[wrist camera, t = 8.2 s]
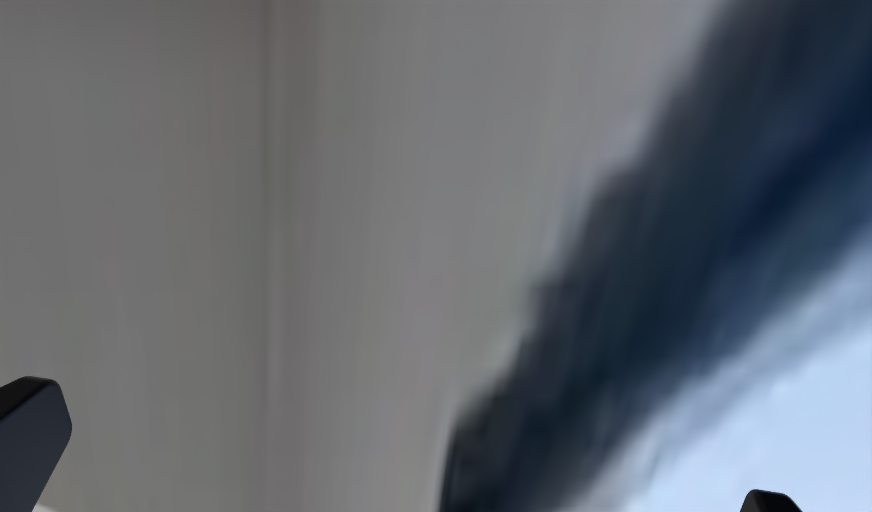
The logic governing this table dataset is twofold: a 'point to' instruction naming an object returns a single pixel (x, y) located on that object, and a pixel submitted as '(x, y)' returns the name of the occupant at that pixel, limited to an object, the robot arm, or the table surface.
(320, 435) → the table surface
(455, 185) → the table surface
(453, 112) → the table surface
